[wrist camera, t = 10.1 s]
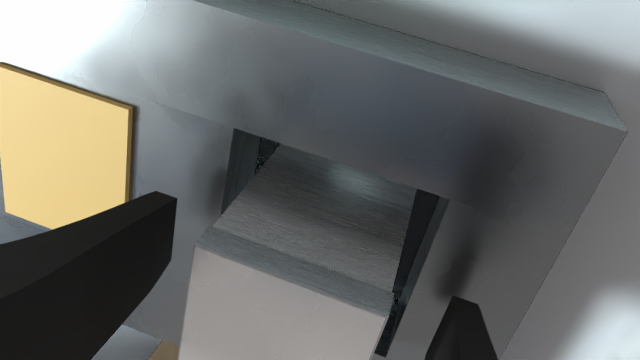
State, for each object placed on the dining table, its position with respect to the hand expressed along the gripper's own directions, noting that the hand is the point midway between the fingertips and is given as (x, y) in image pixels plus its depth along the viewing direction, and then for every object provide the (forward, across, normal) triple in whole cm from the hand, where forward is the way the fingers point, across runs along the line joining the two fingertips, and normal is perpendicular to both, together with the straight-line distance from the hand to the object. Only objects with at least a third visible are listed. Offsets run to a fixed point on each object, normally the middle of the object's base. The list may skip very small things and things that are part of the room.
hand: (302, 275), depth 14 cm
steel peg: (+4, 0, 0) cm, 4 cm away
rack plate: (+4, +3, 0) cm, 5 cm away
